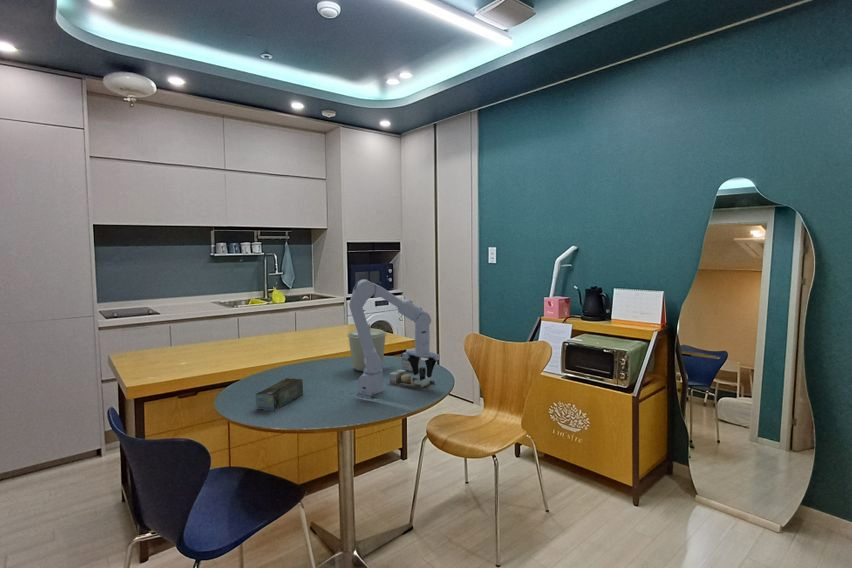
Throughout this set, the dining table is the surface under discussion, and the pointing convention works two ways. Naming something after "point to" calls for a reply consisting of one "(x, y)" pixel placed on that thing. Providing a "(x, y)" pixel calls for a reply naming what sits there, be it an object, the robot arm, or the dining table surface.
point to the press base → (396, 381)
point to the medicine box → (408, 363)
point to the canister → (357, 349)
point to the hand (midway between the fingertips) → (422, 375)
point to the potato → (406, 379)
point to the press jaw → (422, 378)
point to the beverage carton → (279, 394)
